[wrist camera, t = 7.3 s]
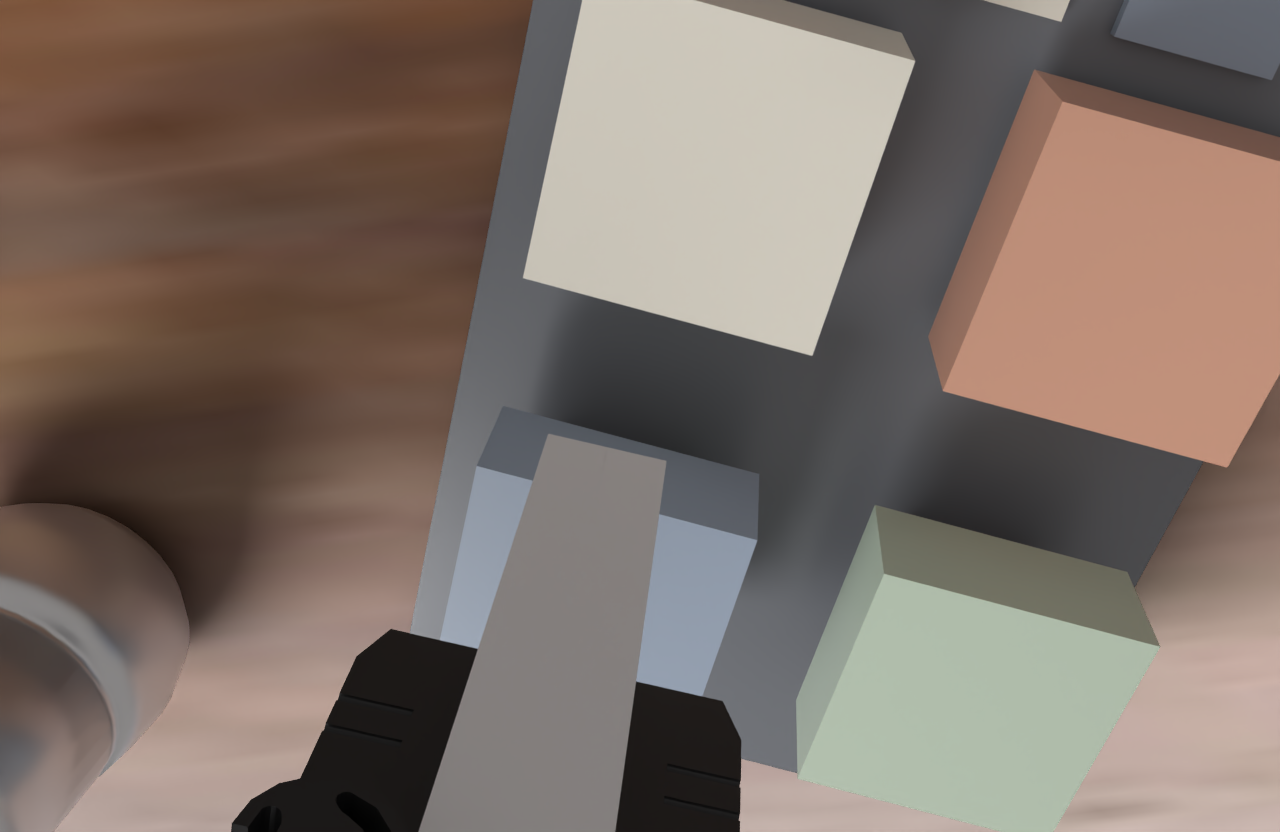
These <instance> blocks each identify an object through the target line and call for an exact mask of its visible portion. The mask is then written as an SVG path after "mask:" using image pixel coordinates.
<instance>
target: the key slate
mask: <svg viewBox="0 0 1280 832" xmlns="http://www.w3.org/2000/svg"><path fill="white" fill-rule="evenodd" d="M548 434H552V435H556V436H561V437H565V438H569V439H574V440H578V441H582V442H587V443H591V444H595V445H600V446H604V447H608V448H613V449H617V450H621V451H626V452H630V453H634V454H639V455H643V456H647V457H652V458H656V459H660V460H665V461H666V469H665V476H664V483H663V490H662V497H661V505H660V512H659V519H658V526H657V534H656V541H655V548H654V555H653V562H652V570H651V577H650V584H649V591H648V599H647V606H646V613H645V620H644V627H643V635H642V642H641V649H640V656H639V664H638V671H637V678H636V681H637V682H641V683H645V684H650V685H654V686H659V687H663V688H667V689H672V690H676V691H681V692H685V693H690V694H694V695H698V696H702V695H703V693H704V690H705V687H706V684H707V681H708V679H709V676H710V673H711V670H712V667H713V664H714V662H715V659H716V656H717V653H718V650H719V647H720V645H721V642H722V639H723V636H724V633H725V630H726V628H727V625H728V622H729V619H730V616H731V614H732V611H733V608H734V605H735V602H736V599H737V597H738V594H739V591H740V588H741V585H742V582H743V580H744V577H745V574H746V571H747V568H748V566H749V563H750V560H751V557H752V554H753V551H754V549H755V546H756V543H757V539H758V503H759V474H757V473H753V472H750V471H746V470H742V469H738V468H735V467H731V466H727V465H723V464H720V463H716V462H712V461H708V460H705V459H701V458H697V457H693V456H690V455H686V454H682V453H678V452H675V451H671V450H667V449H663V448H660V447H656V446H652V445H648V444H644V443H641V442H637V441H633V440H629V439H626V438H622V437H618V436H614V435H611V434H607V433H603V432H599V431H596V430H592V429H588V428H584V427H581V426H577V425H573V424H569V423H566V422H562V421H558V420H554V419H551V418H547V417H543V416H539V415H536V414H532V413H528V412H524V411H520V410H517V409H513V408H509V407H505V406H503V407H502V409H501V412H500V414H499V416H498V418H497V421H496V423H495V425H494V428H493V430H492V432H491V434H490V437H489V439H488V441H487V443H486V446H485V448H484V450H483V452H482V455H481V457H480V459H479V462H478V464H477V466H476V471H475V476H474V481H473V485H472V490H471V495H470V499H469V504H468V509H467V514H466V518H465V523H464V528H463V533H462V537H461V542H460V547H459V552H458V556H457V561H456V566H455V571H454V575H453V580H452V585H451V590H450V594H449V599H448V604H447V608H446V613H445V618H444V623H443V627H442V632H441V637H440V640H441V641H446V642H450V643H455V644H459V645H464V646H468V647H472V648H477V649H478V647H479V644H480V641H481V638H482V635H483V632H484V629H485V626H486V623H487V620H488V617H489V614H490V611H491V608H492V604H493V601H494V598H495V595H496V592H497V589H498V586H499V583H500V580H501V577H502V574H503V571H504V568H505V565H506V562H507V558H508V555H509V552H510V549H511V546H512V543H513V540H514V537H515V534H516V531H517V528H518V525H519V522H520V519H521V515H522V512H523V509H524V506H525V503H526V500H527V497H528V494H529V491H530V488H531V485H532V482H533V479H534V476H535V472H536V469H537V466H538V463H539V460H540V457H541V454H542V451H543V448H544V445H545V442H546V439H547V436H548Z"/></svg>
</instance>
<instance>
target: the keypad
mask: <svg viewBox="0 0 1280 832" xmlns="http://www.w3.org/2000/svg"><path fill="white" fill-rule="evenodd" d="M785 1H788V2H792V3H795V4H799V5H803V6H806V7H810V8H814V9H817V10H821V11H824V12H828V13H832V14H835V15H839V16H843V17H846V18H850V19H853V20H857V21H861V22H864V23H868V24H872V25H875V26H879V27H882V28H886V29H890V30H893V31H897V32H901V33H902V34H903V36H904V39H905V41H906V43H907V45H908V47H909V49H910V51H911V53H912V55H913V57H914V59H915V64H914V66H913V69H912V72H911V75H910V78H909V81H908V84H907V86H906V89H905V92H904V95H903V98H902V101H901V104H900V106H899V109H898V112H897V115H896V118H895V121H894V124H893V126H892V129H891V132H890V135H889V138H888V141H887V144H886V146H885V149H884V152H883V155H882V158H881V161H880V164H879V167H878V169H877V172H876V175H875V178H874V181H873V184H872V187H871V189H870V192H869V195H868V198H867V201H866V204H865V207H864V209H863V212H862V215H861V218H860V221H859V224H858V227H857V229H856V232H855V235H854V238H853V241H852V244H851V247H850V250H849V252H848V255H847V258H846V261H845V264H844V267H843V270H842V272H841V275H840V278H839V281H838V284H837V287H836V290H835V292H834V295H833V298H832V301H831V304H830V307H829V310H828V312H827V315H826V318H825V321H824V324H823V327H822V330H821V333H820V335H819V338H818V341H817V344H816V347H815V350H814V353H813V355H812V356H811V355H807V354H803V353H800V352H796V351H792V350H789V349H785V348H781V347H777V346H774V345H770V344H766V343H762V342H759V341H755V340H751V339H748V338H744V337H740V336H736V335H733V334H729V333H725V332H722V331H718V330H714V329H710V328H707V327H703V326H699V325H696V324H692V323H688V322H684V321H681V320H677V319H673V318H669V317H666V316H662V315H658V314H655V313H651V312H647V311H643V310H640V309H636V308H632V307H629V306H625V305H621V304H617V303H614V302H610V301H606V300H603V299H599V298H595V297H591V296H588V295H584V294H580V293H576V292H573V291H569V290H565V289H562V288H558V287H554V286H550V285H547V284H543V283H539V282H536V281H532V280H528V279H524V278H523V275H524V270H525V266H526V261H527V256H528V252H529V247H530V242H531V238H532V233H533V228H534V224H535V219H536V214H537V210H538V205H539V200H540V196H541V191H542V186H543V182H544V177H545V172H546V168H547V163H548V158H549V154H550V149H551V144H552V140H553V135H554V130H555V126H556V121H557V116H558V112H559V107H560V102H561V98H562V93H563V88H564V84H565V79H566V74H567V69H568V65H569V60H570V55H571V51H572V46H573V41H574V37H575V32H576V27H577V23H578V18H579V13H580V9H581V4H582V0H533V4H532V10H531V15H530V20H529V25H528V30H527V35H526V40H525V45H524V51H523V56H522V61H521V66H520V71H519V76H518V81H517V86H516V91H515V97H514V102H513V107H512V112H511V117H510V122H509V127H508V132H507V138H506V143H505V148H504V153H503V158H502V163H501V168H500V173H499V179H498V184H497V189H496V194H495V199H494V204H493V209H492V214H491V220H490V225H489V230H488V235H487V240H486V245H485V250H484V255H483V261H482V266H481V271H480V276H479V281H478V286H477V291H476V296H475V302H474V307H473V312H472V317H471V322H470V327H469V332H468V337H467V343H466V348H465V353H464V358H463V363H462V368H461V373H460V378H459V384H458V389H457V394H456V399H455V404H454V409H453V414H452V419H451V425H450V430H449V435H448V440H447V445H446V450H445V455H444V460H443V466H442V471H441V476H440V481H439V486H438V491H437V496H436V501H435V506H434V512H433V517H432V522H431V527H430V532H429V537H428V542H427V547H426V553H425V558H424V563H423V568H422V573H421V578H420V583H419V588H418V594H417V599H416V604H415V609H414V614H413V619H412V624H411V629H410V633H411V634H415V635H419V636H424V637H428V638H433V639H437V640H440V637H441V632H442V627H443V623H444V618H445V613H446V608H447V604H448V599H449V594H450V590H451V585H452V580H453V575H454V571H455V566H456V561H457V556H458V552H459V547H460V542H461V537H462V533H463V528H464V523H465V518H466V514H467V509H468V504H469V499H470V495H471V490H472V485H473V481H474V476H475V471H476V466H477V464H478V462H479V459H480V457H481V455H482V452H483V450H484V448H485V446H486V443H487V441H488V439H489V437H490V434H491V432H492V430H493V428H494V425H495V423H496V421H497V418H498V416H499V414H500V412H501V409H502V407H503V406H505V407H509V408H513V409H517V410H520V411H524V412H528V413H532V414H536V415H539V416H543V417H547V418H551V419H554V420H558V421H562V422H566V423H569V424H573V425H577V426H581V427H584V428H588V429H592V430H596V431H599V432H603V433H607V434H611V435H614V436H618V437H622V438H626V439H629V440H633V441H637V442H641V443H644V444H648V445H652V446H656V447H660V448H663V449H667V450H671V451H675V452H678V453H682V454H686V455H690V456H693V457H697V458H701V459H705V460H708V461H712V462H716V463H720V464H723V465H727V466H731V467H735V468H738V469H742V470H746V471H750V472H753V473H757V474H759V503H758V539H757V543H756V546H755V549H754V551H753V554H752V557H751V560H750V563H749V566H748V568H747V571H746V574H745V577H744V580H743V582H742V585H741V588H740V591H739V594H738V597H737V599H736V602H735V605H734V608H733V611H732V614H731V616H730V619H729V622H728V625H727V628H726V630H725V633H724V636H723V639H722V642H721V645H720V647H719V650H718V653H717V656H716V659H715V662H714V664H713V667H712V670H711V673H710V676H709V679H708V681H707V684H706V687H705V690H704V693H703V695H702V696H703V697H707V698H712V699H716V700H720V701H723V703H724V705H725V707H726V709H727V711H728V713H729V715H730V717H731V719H732V721H733V723H734V726H735V728H736V730H737V732H738V734H739V736H740V738H741V759H745V760H749V761H753V762H756V763H760V764H764V765H768V766H772V767H776V768H779V769H783V770H787V771H791V772H795V773H797V722H796V699H797V697H798V694H799V692H800V689H801V687H802V684H803V682H804V679H805V677H806V674H807V672H808V669H809V667H810V664H811V662H812V659H813V657H814V654H815V652H816V649H817V647H818V645H819V642H820V640H821V637H822V635H823V632H824V630H825V627H826V625H827V622H828V620H829V617H830V615H831V612H832V610H833V607H834V605H835V602H836V600H837V597H838V595H839V593H840V590H841V588H842V585H843V583H844V580H845V578H846V575H847V573H848V570H849V568H850V565H851V563H852V560H853V558H854V555H855V553H856V550H857V548H858V545H859V543H860V540H861V538H862V536H863V533H864V531H865V528H866V526H867V523H868V521H869V518H870V516H871V513H872V511H873V508H874V506H875V505H878V506H881V507H885V508H889V509H893V510H896V511H900V512H904V513H908V514H911V515H915V516H919V517H923V518H926V519H930V520H934V521H938V522H941V523H945V524H949V525H953V526H956V527H960V528H964V529H968V530H971V531H975V532H979V533H983V534H987V535H990V536H994V537H998V538H1002V539H1005V540H1009V541H1013V542H1017V543H1020V544H1024V545H1028V546H1032V547H1035V548H1039V549H1043V550H1047V551H1050V552H1054V553H1058V554H1062V555H1065V556H1069V557H1073V558H1077V559H1080V560H1084V561H1088V562H1092V563H1096V564H1099V565H1103V566H1107V567H1111V568H1114V569H1118V570H1122V571H1126V572H1128V575H1129V577H1130V579H1131V582H1132V584H1133V586H1134V587H1135V586H1136V584H1137V582H1138V580H1139V578H1140V576H1141V575H1142V573H1143V571H1144V569H1145V567H1146V566H1147V564H1148V562H1149V560H1150V558H1151V556H1152V555H1153V553H1154V551H1155V549H1156V547H1157V545H1158V544H1159V542H1160V540H1161V538H1162V536H1163V535H1164V533H1165V531H1166V529H1167V527H1168V525H1169V524H1170V522H1171V520H1172V518H1173V516H1174V514H1175V513H1176V511H1177V509H1178V507H1179V505H1180V504H1181V502H1182V500H1183V498H1184V496H1185V494H1186V493H1187V491H1188V489H1189V487H1190V485H1191V483H1192V482H1193V480H1194V478H1195V476H1196V474H1197V472H1198V471H1199V469H1200V467H1201V465H1202V463H1203V462H1204V461H1201V460H1197V459H1194V458H1190V457H1186V456H1182V455H1179V454H1175V453H1171V452H1168V451H1164V450H1160V449H1156V448H1153V447H1149V446H1145V445H1141V444H1138V443H1134V442H1130V441H1127V440H1123V439H1119V438H1115V437H1112V436H1108V435H1104V434H1101V433H1097V432H1093V431H1089V430H1086V429H1082V428H1078V427H1075V426H1071V425H1067V424H1063V423H1060V422H1056V421H1052V420H1048V419H1045V418H1041V417H1037V416H1034V415H1030V414H1026V413H1022V412H1019V411H1015V410H1011V409H1008V408H1004V407H1000V406H996V405H993V404H989V403H985V402H982V401H978V400H974V399H970V398H967V397H963V396H959V395H955V394H952V393H948V392H944V391H943V390H942V386H941V383H940V379H939V375H938V371H937V368H936V364H935V360H934V356H933V353H932V349H931V345H930V342H929V338H928V336H929V333H930V331H931V328H932V325H933V323H934V320H935V318H936V315H937V313H938V310H939V308H940V305H941V303H942V300H943V298H944V295H945V293H946V290H947V288H948V285H949V283H950V280H951V278H952V275H953V273H954V270H955V268H956V265H957V263H958V260H959V258H960V255H961V253H962V250H963V247H964V245H965V242H966V240H967V237H968V235H969V232H970V230H971V227H972V225H973V222H974V220H975V217H976V215H977V212H978V210H979V207H980V205H981V202H982V200H983V197H984V195H985V192H986V190H987V187H988V185H989V182H990V180H991V177H992V174H993V172H994V169H995V167H996V164H997V162H998V159H999V157H1000V154H1001V152H1002V149H1003V147H1004V144H1005V142H1006V139H1007V137H1008V134H1009V132H1010V129H1011V127H1012V124H1013V122H1014V119H1015V117H1016V114H1017V112H1018V109H1019V107H1020V104H1021V101H1022V99H1023V96H1024V94H1025V91H1026V89H1027V86H1028V84H1029V81H1030V79H1031V76H1032V74H1033V71H1034V70H1038V71H1042V72H1045V73H1049V74H1052V75H1056V76H1060V77H1063V78H1067V79H1071V80H1074V81H1078V82H1081V83H1085V84H1089V85H1092V86H1096V87H1100V88H1103V89H1107V90H1110V91H1114V92H1118V93H1121V94H1125V95H1129V96H1132V97H1136V98H1139V99H1143V100H1147V101H1150V102H1154V103H1158V104H1161V105H1165V106H1168V107H1172V108H1176V109H1179V110H1183V111H1187V112H1190V113H1194V114H1197V115H1201V116H1205V117H1208V118H1212V119H1216V120H1219V121H1223V122H1226V123H1230V124H1234V125H1237V126H1241V127H1244V128H1248V129H1252V130H1255V131H1259V132H1263V133H1266V134H1270V135H1273V136H1277V137H1280V0H785Z"/></svg>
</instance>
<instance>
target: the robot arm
mask: <svg viewBox="0 0 1280 832" xmlns="http://www.w3.org/2000/svg"><path fill="white" fill-rule="evenodd" d="M665 469H666V461H665V460H660V459H656V458H652V457H647V456H643V455H639V454H634V453H630V452H626V451H621V450H617V449H613V448H608V447H604V446H600V445H595V444H591V443H587V442H582V441H578V440H574V439H569V438H565V437H561V436H556V435H552V434H548V436H547V439H546V442H545V445H544V448H543V451H542V454H541V457H540V460H539V463H538V466H537V469H536V472H535V476H534V479H533V482H532V485H531V488H530V491H529V494H528V497H527V500H526V503H525V506H524V509H523V512H522V515H521V519H520V522H519V525H518V528H517V531H516V534H515V537H514V540H513V543H512V546H511V549H510V552H509V555H508V558H507V562H506V565H505V568H504V571H503V574H502V577H501V580H500V583H499V586H498V589H497V592H496V595H495V598H494V601H493V604H492V608H491V611H490V614H489V617H488V620H487V623H486V626H485V629H484V632H483V635H482V638H481V641H480V644H479V647H478V649H477V648H472V647H468V646H464V645H459V644H455V643H450V642H446V641H441V640H437V639H433V638H428V637H424V636H419V635H415V634H411V633H406V632H402V631H397V630H393V629H390V630H389V631H388V632H387V633H385V634H384V635H383V636H382V637H380V638H379V639H378V640H377V641H375V642H374V643H373V644H372V645H370V646H369V647H368V648H367V649H365V650H364V651H363V652H362V653H360V654H359V655H358V656H357V657H356V659H355V661H354V663H353V665H352V668H351V670H350V672H349V674H348V676H347V678H346V681H345V683H344V685H343V687H342V689H341V691H340V695H339V698H338V700H336V702H335V704H334V707H333V709H332V711H331V713H330V715H329V717H328V720H327V722H326V725H325V729H324V731H322V733H321V735H320V737H319V739H318V741H317V743H316V746H315V748H314V750H313V752H312V754H311V756H310V759H309V761H308V763H307V765H306V767H305V769H304V772H303V774H302V776H301V778H300V779H297V780H292V781H287V782H283V783H279V784H277V785H276V786H274V787H272V788H270V789H269V790H267V791H265V792H264V793H262V794H260V795H258V796H257V797H255V798H253V799H251V800H250V802H249V803H248V804H247V805H246V807H245V808H244V809H243V810H242V812H241V813H240V814H239V815H238V817H237V818H236V819H235V820H234V821H233V823H232V829H231V832H740V821H739V814H740V788H739V785H740V781H741V738H740V736H739V734H738V732H737V730H736V728H735V726H734V723H733V721H732V719H731V717H730V715H729V713H728V711H727V709H726V707H725V705H724V703H723V701H720V700H716V699H712V698H707V697H703V696H698V695H694V694H690V693H685V692H681V691H676V690H672V689H667V688H663V687H659V686H654V685H650V684H645V683H641V682H637V681H636V678H637V671H638V664H639V656H640V649H641V642H642V635H643V627H644V620H645V613H646V606H647V599H648V591H649V584H650V577H651V570H652V562H653V555H654V548H655V541H656V534H657V526H658V519H659V512H660V505H661V497H662V490H663V483H664V476H665Z"/></svg>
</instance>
